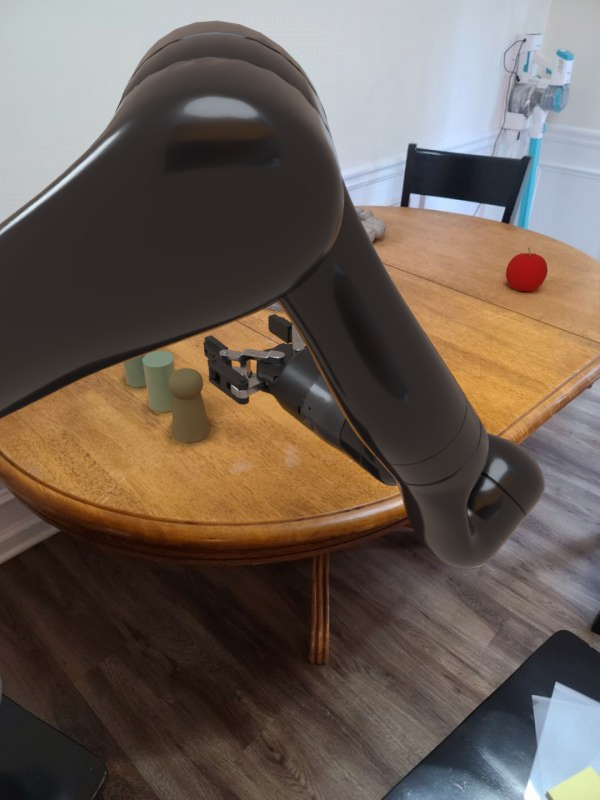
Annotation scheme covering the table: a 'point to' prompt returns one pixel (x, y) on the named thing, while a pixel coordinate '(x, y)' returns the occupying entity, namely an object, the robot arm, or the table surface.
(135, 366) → the back jar
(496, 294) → the table surface
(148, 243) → the robot arm
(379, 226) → the campfire
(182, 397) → the olive chess pawn
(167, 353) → the front jar
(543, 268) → the fruit
